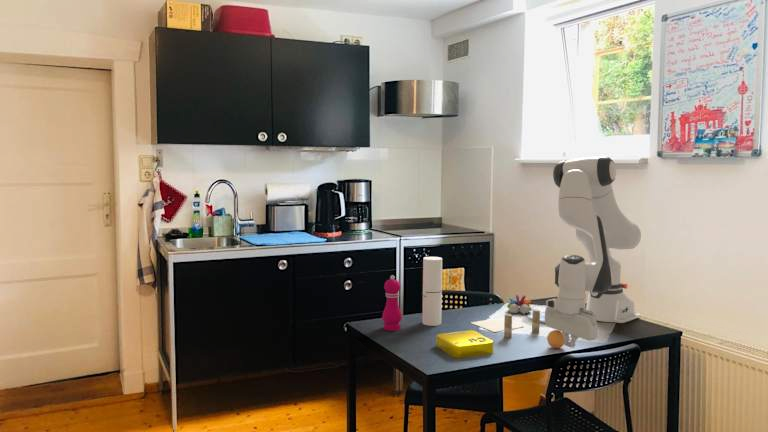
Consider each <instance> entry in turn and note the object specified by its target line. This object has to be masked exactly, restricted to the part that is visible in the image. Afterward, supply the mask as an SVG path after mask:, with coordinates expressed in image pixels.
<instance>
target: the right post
mask: <svg viewBox="0 0 768 432" xmlns="http://www.w3.org/2000/svg"><path fill="white" fill-rule="evenodd" d="M531 320H532V321H531V333H532V332H533V334H539V333H540V322H541V310H540V309H532V319H531Z"/></svg>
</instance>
